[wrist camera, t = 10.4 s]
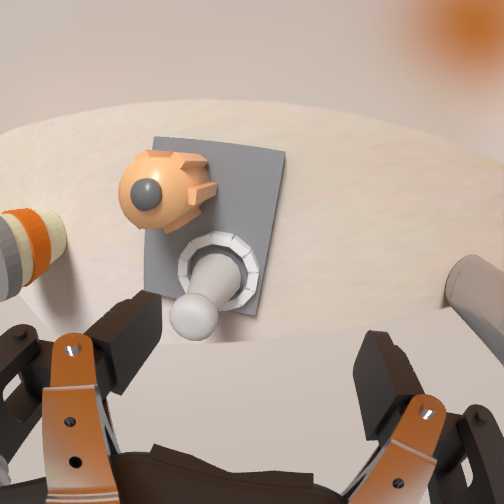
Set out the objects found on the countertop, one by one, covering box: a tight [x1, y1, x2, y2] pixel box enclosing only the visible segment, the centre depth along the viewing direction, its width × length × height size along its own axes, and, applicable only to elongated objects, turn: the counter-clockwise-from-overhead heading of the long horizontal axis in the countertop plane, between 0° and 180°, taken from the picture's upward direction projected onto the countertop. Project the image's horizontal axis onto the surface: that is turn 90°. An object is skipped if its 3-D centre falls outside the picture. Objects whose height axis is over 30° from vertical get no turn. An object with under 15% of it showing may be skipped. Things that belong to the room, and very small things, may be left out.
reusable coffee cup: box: [0, 208, 67, 302], centre depth 32 cm, size 13×12×15 cm
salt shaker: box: [170, 254, 241, 341], centre depth 29 cm, size 6×6×13 cm
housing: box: [118, 137, 285, 316], centre depth 30 cm, size 16×21×13 cm
